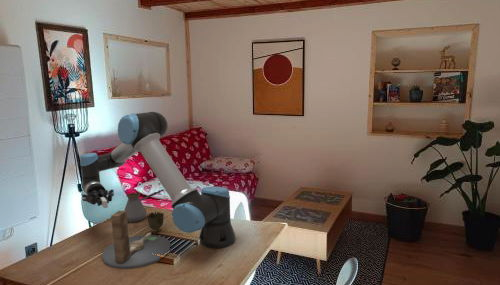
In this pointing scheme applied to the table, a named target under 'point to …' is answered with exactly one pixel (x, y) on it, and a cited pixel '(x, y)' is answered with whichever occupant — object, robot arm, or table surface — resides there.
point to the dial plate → (139, 252)
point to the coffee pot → (136, 207)
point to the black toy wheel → (155, 221)
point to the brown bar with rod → (123, 237)
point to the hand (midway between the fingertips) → (105, 204)
